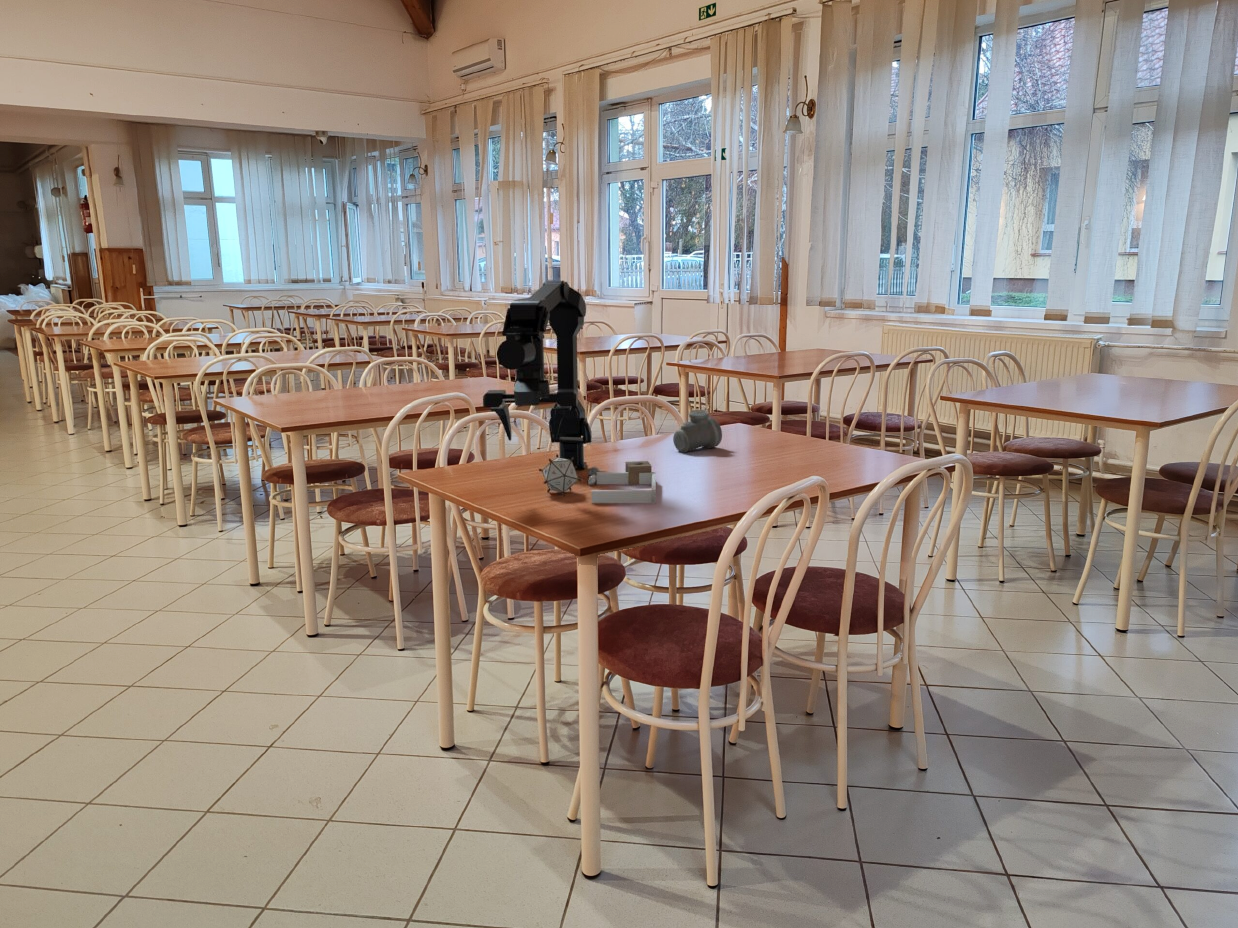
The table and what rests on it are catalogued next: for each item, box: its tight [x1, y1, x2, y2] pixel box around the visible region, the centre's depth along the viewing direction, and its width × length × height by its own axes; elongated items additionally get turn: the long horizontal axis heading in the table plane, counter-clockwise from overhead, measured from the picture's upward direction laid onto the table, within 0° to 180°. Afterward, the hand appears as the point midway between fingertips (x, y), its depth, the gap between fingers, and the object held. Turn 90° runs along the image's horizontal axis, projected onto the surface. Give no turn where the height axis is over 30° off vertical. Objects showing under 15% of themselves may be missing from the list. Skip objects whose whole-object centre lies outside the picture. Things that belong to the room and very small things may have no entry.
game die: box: [538, 453, 583, 497], centre depth 181 cm, size 9×8×10 cm
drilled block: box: [624, 460, 653, 486], centre depth 191 cm, size 5×5×4 cm
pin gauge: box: [587, 466, 601, 487], centre depth 191 cm, size 8×2×2 cm, turn 178°
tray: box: [590, 471, 657, 504], centre depth 181 cm, size 17×13×2 cm
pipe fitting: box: [672, 409, 723, 453], centre depth 224 cm, size 12×8×10 cm
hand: (532, 440), depth 178 cm, fingers open, 9 cm apart
